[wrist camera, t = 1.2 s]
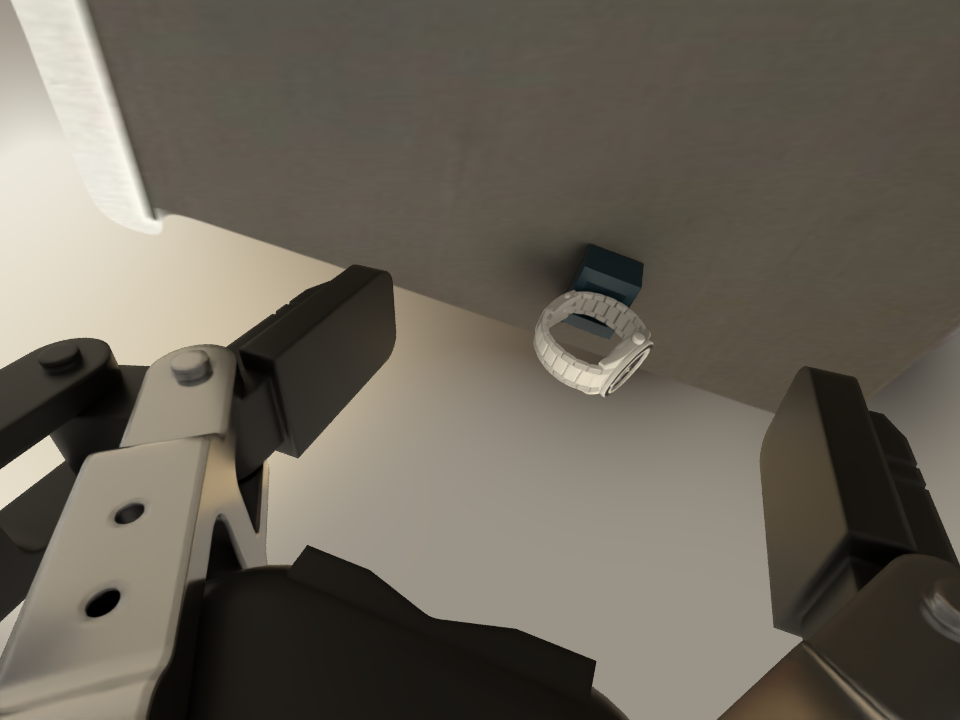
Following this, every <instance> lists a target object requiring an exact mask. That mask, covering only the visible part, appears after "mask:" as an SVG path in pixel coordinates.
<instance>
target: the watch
mask: <svg viewBox="0 0 960 720" xmlns="http://www.w3.org/2000/svg"><path fill="white" fill-rule="evenodd" d="M643 266H644V264H643V263H640V262H637V261H635V260H632V259H629V258H627V257H624V256H621V255H619V254H616V253H614V252H611V251H608V250H606V249H603V248H600V247H598V246H595V245H592V244H590V245H589V247H588V249H587V251H586V253H585V255H584V257H583V259H582V262H581V264H580V266H579V268H578V270H577V272H576V274H575V276H574V278H573V280H572V282H571V284H570V286H569V288H568V290H567V292H566V293H565V294H563V295H561V296H559V297H557V298H556V299H554V300H553V301H552V302H551V303H550V304H549V305H548V306H547V307H546V308H545V309H544V311H543V313H542V315H541V317H540V319H539V321H538V323H537V325H536V328H535V331H536V332H535V336H534V348H535V351H536V353H537V356H538V358H539V359H540V361H541V363H542V364H543V365H544V367H545V368H546V369H547V370H548V371H549V372H550V373H551V374H552V373H553V374H552V375H553V376H554V377H556V378H557V379H558V380H560V381H561V382H563V381H564V383H565V384H567V385H568V386H570V387H573V388H576V389H578V390H581V391H583V392H584V393H586V394H598V393H601V395H602V396H603V397H606V396H608V395H610V394H611V393H613V392H614V391H615V390H616V389H617V388H619V387H620V386H621V385H622V384H623V383H624V382H625V381H626V380H627V379H628V378H629V377H630V376H631V375H632V374H633V373H634V371H635V370H636V369H637V368H638V367H639V366H640V365H641V363H642V362H643V361H644V359H645V358H646V357H647V355H648V354H649V352H650V351H651V349H652V347H653V342H651V341H649V338H650V334H651V333H650V331H649V330H647V329H646V327H645V325H644V323H643V322H642V321H641V319H640V318H639V317H638V316H637V315H636V314H635V313H634V312H633V311H632V310H631V309H629V307H630V305H631V304H632V302H633V301H634V299H635V297H636V296H637V294H638V293H639V291H640V289H641V287H642V276H643ZM559 321H561V322H564V323H567V324H569V325H572V326H574V327H577V328H580V329H582V330H585V331H588V332H590V333H593V334H595V335H598V336H601V337H603V338H606V339H610V337H611V336H612V334H613V333H614V331H616V333H617V334H618V335H619V336H620V337H621V338H623V341H621V342H620V343H619V344H618V345H617V346H616V347H615V348H614V349H613V350H612V351H611V352H610V353H609V354H608V355H607V356H606V358H605V359H603V360H601V361H600V362H599V366H597V365H593V364H590V365H589V364H588V363H587V362H584V361H582V360H579V359H577V360H576V357H574V356H572V355H571V354H569V353H568V352H565V350H564V349H563V348H562V347H561V346H560V345H559V344H558V343H556V341H555V340H554V339H553V337H552V336H551V335H550V334H549V333H550V332H549V328H551V327H552V326H553V325H554V324H556V323H558V322H559ZM575 360H576V361H575ZM574 362H575V363H574ZM568 364H569V365H568ZM566 367H567V368H566ZM565 369H566V370H565ZM564 371H565V372H564ZM564 379H565V380H564Z"/></svg>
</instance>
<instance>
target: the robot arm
mask: <svg viewBox="0 0 960 720" xmlns="http://www.w3.org/2000/svg"><path fill="white" fill-rule="evenodd" d="M395 340H396V324H395V310H394V294H393V281H392V277H391V275H390V274H389V273H388V272H387V271H383V270H379V269H374V268H370V267H365V266H361V265H352V266H350V267H349V268H347V269H346V270H345V271H343V272H342V273H341V274H339V275H338V276H337V277H335V278H334V279H332V280H331V281H328V282H325V283H323V284H320V285H317V286H315V287H312V288H309V289H307V290H305V291H304V292H303V293H301V294H299V295H298V296H297V297H295V298H294V299H293V300H291V301H290V303H289V305H288V304H286V305H284V306H283V307H281V308H280V309H278V310H277V311H276V314H272V315H270V316H269V317H267V318H266V319H265V320H263V321H262V322H260V323H259V324H258V325H256V326H255V327H253V328H252V329H251V330H249V331H248V332H246V333H245V334H244V335H242V336H241V337H239V338H238V339H237V340H235V341H234V342H233V343H231V344H230V345H228V346H227V347H223V346H219V345H212V344H209V345H208V344H204V345H194V346H189V347H184V348H181V349H178V350H175V351H173V352H170V353H168V354H167V355H165V356H163V357H161V358H160V359H158V360H157V361H155V362H154V363H153V364H152V365H151V366H130V365H118V363H117V361H116V359H115V357H114V355H113V353H112V351H111V349H110V347H109V345H108V344H107V343H106V342H104V341H102V340H99V339H94V338H76V339H68V340H63V341H59V342H55V343H52V344H49V345H46V346H44V347H41V348H39V349H37V350H35V351H33V352H31V353H29V354H27V355H25V356H24V357H22V358H20V359H18V360H17V361H15V362H13V363H11V364H9V365H7V366H6V367H4V368H2V369H0V469H1V468H3V467H4V466H6V465H7V464H8V463H10V462H11V461H13V460H14V459H15V458H17V457H18V456H20V455H21V454H22V453H24V452H25V451H27V450H28V449H30V448H31V447H32V446H34V445H35V444H37V443H38V442H40V441H41V440H42V439H44V438H45V437H47V436H48V435H50V437H51V438H52V440H53V441H54V443H55V444H56V446H57V447H58V449H59V451H60V452H61V454H62V455H63V457H64V458H65V461H64V462H63V463H62V464H60V465H59V466H58V467H56V468H55V469H54V470H53V471H51V472H50V473H49V474H48V475H46V476H45V477H43V478H42V479H41V480H40V481H38V482H37V483H35V484H34V485H33V486H32V487H30V488H29V489H28V490H26V491H25V492H24V493H22V494H21V495H20V496H19V497H17V498H16V499H15V500H13V501H12V502H11V503H9V504H8V505H7V506H6V507H4V508H3V509H2V510H0V622H1V621H2V620H3V619H4V618H5V617H6V616H7V615H8V614H9V613H10V612H11V611H13V609H15V608H16V607H17V606H18V605H19V604H20V603H21V602H22V601H23V600H24V599H25V598H26V599H25V601H24V604H23V606H22V608H21V611H20V613H19V615H18V618H17V620H16V622H15V625H14V627H13V630H12V632H11V634H10V637H9V639H8V641H7V644H6V646H5V648H4V651H3V653H2V656H1V658H0V720H629V719H628V717H627V716H626V715H625V714H624V713H623V712H622V711H621V710H620V709H619V708H617V707H616V706H615V705H614V704H613V703H612V702H611V701H610V700H609V699H608V698H607V697H605V696H604V695H603V694H602V693H600V692H599V691H598V690H596V689H595V688H594V687H592V683H593V677H594V672H595V666H596V661H595V660H593V659H590V658H587V657H585V656H583V655H580V654H578V653H575V652H573V651H570V650H568V649H565V648H563V647H560V646H558V645H555V644H553V643H550V642H547V641H545V640H543V639H540V638H538V637H535V636H533V635H530V634H528V633H525V632H523V631H520V630H518V629H513V628H505V627H497V626H489V625H481V624H473V623H465V622H457V621H449V620H441V619H436V618H433V617H430V616H428V615H427V614H425V613H424V612H422V611H421V610H420V609H419V608H417V607H416V606H415V605H414V604H412V603H411V602H410V601H409V600H407V599H406V598H405V597H403V596H402V595H401V594H400V593H398V592H397V591H396V590H395V589H393V588H392V587H391V586H389V585H388V584H387V583H386V582H384V581H383V580H382V579H380V578H379V577H378V576H377V575H375V574H374V573H373V572H372V571H370V570H368V569H366V568H363V567H361V566H358V565H356V564H353V563H351V562H348V561H346V560H343V559H341V558H338V557H336V556H333V555H331V554H328V553H326V552H323V551H321V550H319V549H316V548H314V547H311V546H309V545H307V546H306V548H305V549H304V550H303V552H302V553H301V554H300V556H299V557H298V558H297V560H296V561H295V562H294V564H293V565H268V564H267V556H266V533H267V510H268V487H269V465H268V462H267V458H268V457H269V456H270V455H271V454H272V453H273V452H274V451H275V450H276V451H279V452H281V453H284V454H287V455H290V456H293V457H296V458H299V457H300V456H301V455H302V454H303V453H304V451H305V450H306V449H307V448H308V447H309V446H310V445H311V444H312V443H313V442H314V440H315V439H316V438H317V437H318V436H319V435H320V434H321V433H322V432H323V430H324V429H325V428H326V427H327V426H328V425H329V424H330V423H331V422H332V420H333V419H334V418H335V417H336V416H337V415H338V414H339V413H340V412H341V411H342V409H343V408H344V407H345V406H346V405H347V404H348V403H349V402H350V401H351V400H352V398H353V397H354V396H355V395H356V394H357V393H358V392H359V391H360V390H361V389H362V387H363V386H364V385H365V384H366V383H367V382H368V381H369V380H370V379H371V377H372V376H373V375H374V374H375V373H376V372H377V371H378V370H379V369H380V368H381V366H382V365H383V364H384V363H385V362H386V361H387V360H388V359H389V357H390V355H391V353H392V351H393V348H394V344H395ZM916 465H917V462H916V460H915V457H914V455H913V453H912V450H911V448H910V445H909V443H908V440H907V438H906V437H905V436H904V435H903V434H902V433H901V432H900V431H899V430H898V429H897V428H896V427H895V426H894V425H893V424H892V423H891V422H890V421H889V420H888V418H887V417H886V416H885V415H884V414H881V413H877V412H872V411H868V408H867V406H866V403H865V400H864V397H863V394H862V391H861V388H860V386H859V383H858V381H857V379H856V378H855V377H852V376H848V375H843V374H839V373H834V372H830V371H825V370H821V369H816V368H812V367H807V366H804V367H803V368H801V369H800V370H799V371H798V373H797V374H796V376H795V378H794V380H793V382H792V384H791V385H790V387H789V389H788V391H787V393H786V395H785V397H784V399H783V401H782V403H781V405H780V407H779V408H778V410H777V412H776V414H775V416H774V418H773V420H772V422H771V424H770V426H769V428H768V430H767V432H766V435H765V437H764V440H763V443H762V448H761V453H760V472H761V483H762V495H763V507H764V518H765V529H766V530H765V531H766V542H767V553H768V565H769V577H770V588H771V589H770V590H771V601H772V613H773V624H774V628H777V629H780V630H783V631H785V632H788V633H791V634H794V635H797V636H800V637H802V638H803V641H802V642H800V643H799V644H798V645H797V646H796V647H794V648H793V649H792V650H791V651H790V652H789V653H788V654H787V655H786V656H785V657H784V658H782V659H781V660H780V661H779V662H778V663H777V664H776V665H775V666H774V667H773V668H772V669H771V670H770V671H768V672H767V673H766V674H765V675H764V676H763V677H762V678H761V679H760V680H759V681H758V682H757V683H756V684H755V685H754V686H752V687H751V688H750V689H749V690H748V691H747V692H746V693H745V694H744V695H743V696H742V697H741V698H740V699H738V700H737V701H736V702H735V703H734V704H733V705H732V706H731V707H730V708H729V709H728V710H727V711H726V712H725V713H723V714H722V715H721V716H720V717H719V718H718V719H717V720H960V564H959V562H958V560H957V557H956V555H955V552H954V550H953V548H952V545H951V543H950V540H949V538H948V536H947V533H946V531H945V529H944V526H943V524H942V522H941V519H940V517H939V514H938V512H937V509H936V507H935V505H934V502H933V500H932V498H931V495H930V493H929V490H926V489H925V486H926V483H925V481H924V479H923V476H922V474H921V471H920V469H919V468H916Z"/></svg>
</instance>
